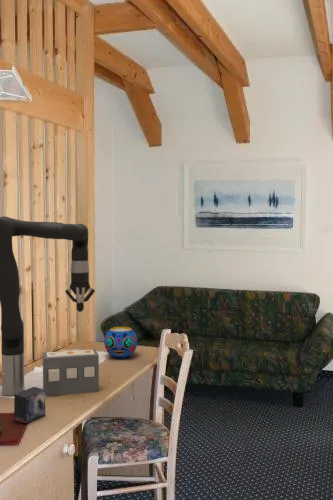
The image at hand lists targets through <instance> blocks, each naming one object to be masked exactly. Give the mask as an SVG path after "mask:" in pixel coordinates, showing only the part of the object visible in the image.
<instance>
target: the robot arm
mask: <svg viewBox="0 0 333 500" xmlns="http://www.w3.org/2000/svg"><path fill="white" fill-rule="evenodd" d="M13 237H33V238H34V237H35V238H40V239H49V240H67V241H72V242H71V243H72V246H71V252H70V253H71V255H70V256H71V258H70V259H71V261H70V262H71V263H70V284H69V287H68V288H67V289H65V291H64V292H65V294H66V295H67V296H68V297H69V299H70V300H71V301H72V302H73V303H76V310H77V312H79V313H80V312H81V313H82V312H83V311H84V308H85V305H84V303H87V302H88V301H89V300H90V299H91V297H92V296H93V295H94V293H95V291H96V290H95V289H94V288H92V287H91V285H90V267H89V249H88V246H89V228H88V227H87V225H85V224H84V223H64V222H63V223H62V222H56V221H28V220H21V219H17V218H11V217H9V216H5V215H4V216H3V215H2V216H0V313H1V314H0V315H1V316H0V318H1V319H0V322H1V323H0V332H1V333H0V335H1V337H0V338H1V344H0V345H1V348H0V349H1V395H2V396H9V397H10V396H11V397H14V394H15V393H18V392H21V391H24V390H26V389H25V386H26V385H25V339H24V338H25V336H24V335H25V333H24V331H25V329H24V328H25V327H24V321H23V319H22V317H21V311H20V274H19V267H18V263H17V261H16V257H15V253H14V251H13V249H14V248H13ZM72 292H73V294H74V295H75V297H74V296H73V295H72ZM87 292H88V293H87ZM86 294H87V295H86ZM85 295H86V296H85Z"/></svg>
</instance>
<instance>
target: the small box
mask: <svg viewBox="0 0 333 500" xmlns="http://www.w3.org/2000/svg"><path fill="white" fill-rule="evenodd" d="M13 399H14V400H13V401H14V403H13V406H14V408H13V409H14V412H13V413H14V415H13V416H14V418H13V420H14V419H17V420H20V421H24V422H29V423H32V422H34V421H37V420H38V419H42V418H44V417H46V396H45V390H44V389H43V388H41V387H37V386H33V387H30V388H27V389H25V390H24V391H21V392H18V393H15V394H14V396H13ZM29 423H28V424H29Z"/></svg>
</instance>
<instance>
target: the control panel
mask: <svg viewBox="0 0 333 500" xmlns="http://www.w3.org/2000/svg"><path fill="white" fill-rule="evenodd" d="M99 358H100V355H99V354H98V351H97V350H96V349H83V350H65V351H64V350H63V351H50V352H42V389H44V390H45V397H51V396H52V397H53V396H61V395H62V396H64V395H76V394H87V393H98V392H99V391H100V378H99V377H100V376H99V374H100V373H99V372H100V371H99V370H100V368H99V367H100V363H99V362H100V361H99V360H100V359H99ZM85 366H95V377H84V367H85ZM71 367H77V378H69V379H66V368H71ZM57 368H59V381H49V380H48V369H57Z"/></svg>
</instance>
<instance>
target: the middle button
mask: <svg viewBox="0 0 333 500" xmlns="http://www.w3.org/2000/svg"><path fill="white" fill-rule="evenodd" d="M69 378H77V367H71V368H66V379H69Z"/></svg>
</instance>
